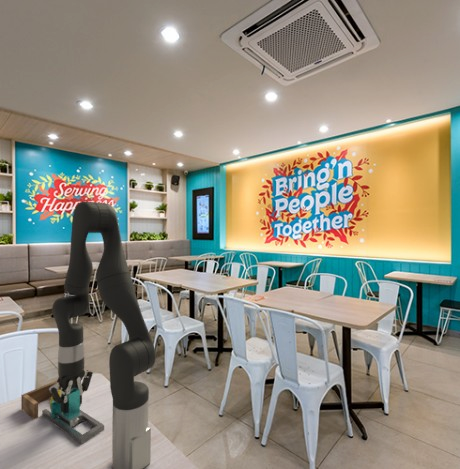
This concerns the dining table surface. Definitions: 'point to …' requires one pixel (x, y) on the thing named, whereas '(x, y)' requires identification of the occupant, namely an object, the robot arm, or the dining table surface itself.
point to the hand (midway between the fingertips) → (71, 409)
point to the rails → (71, 431)
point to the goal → (35, 399)
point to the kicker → (69, 409)
